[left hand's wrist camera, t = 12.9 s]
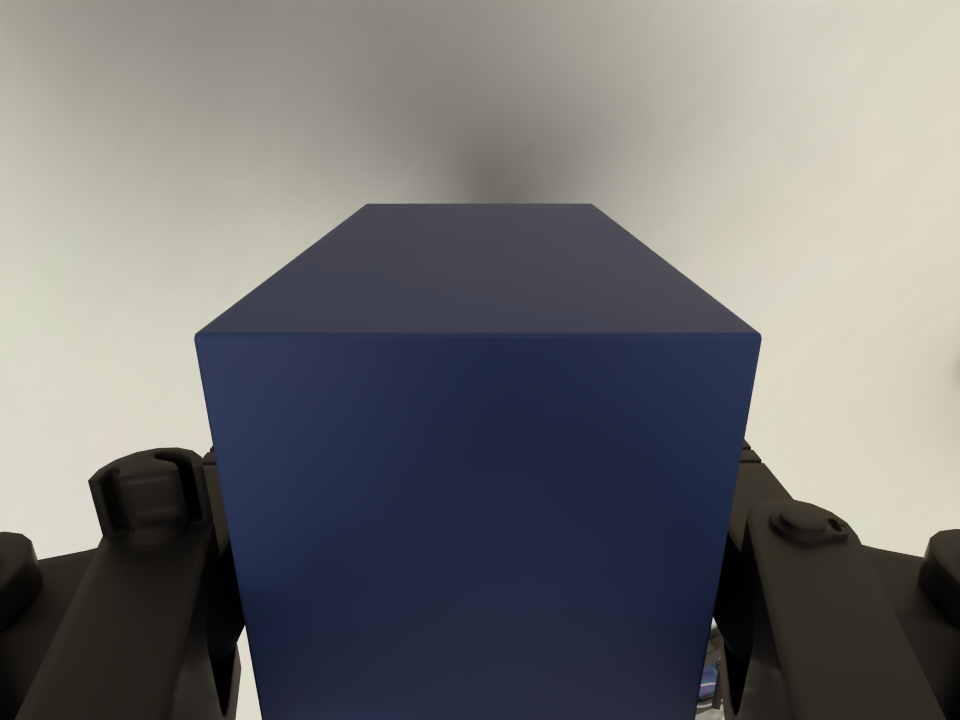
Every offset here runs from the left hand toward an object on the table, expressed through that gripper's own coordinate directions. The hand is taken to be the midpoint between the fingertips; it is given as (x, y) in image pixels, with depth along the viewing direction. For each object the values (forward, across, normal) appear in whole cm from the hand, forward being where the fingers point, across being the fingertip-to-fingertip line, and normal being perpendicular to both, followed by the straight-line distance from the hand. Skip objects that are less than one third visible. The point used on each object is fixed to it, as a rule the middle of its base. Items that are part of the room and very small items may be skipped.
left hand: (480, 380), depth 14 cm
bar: (+1, 0, -10) cm, 10 cm away
